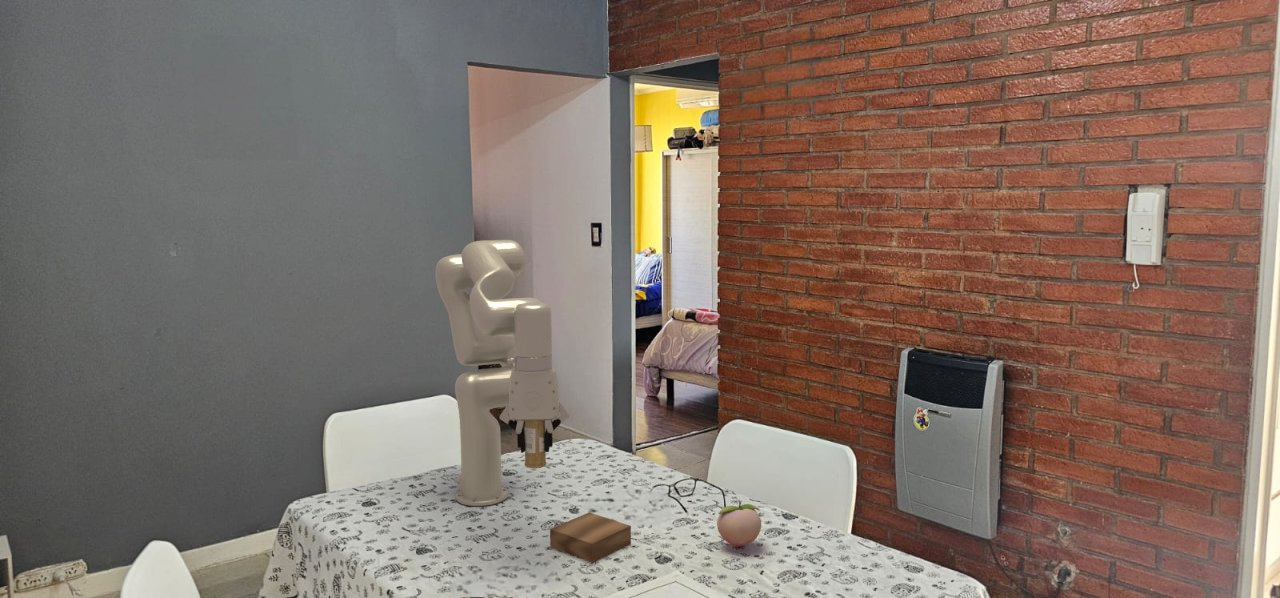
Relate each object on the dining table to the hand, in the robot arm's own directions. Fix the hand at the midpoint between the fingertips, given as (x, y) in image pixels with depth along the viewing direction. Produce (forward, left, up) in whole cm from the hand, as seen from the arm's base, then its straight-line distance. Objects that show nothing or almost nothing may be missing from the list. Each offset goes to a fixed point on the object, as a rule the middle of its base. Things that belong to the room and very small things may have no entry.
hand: (535, 449), depth 174 cm
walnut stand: (+8, +8, -21) cm, 24 cm away
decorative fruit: (+33, +27, -22) cm, 48 cm away
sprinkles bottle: (0, 0, -4) cm, 4 cm away
